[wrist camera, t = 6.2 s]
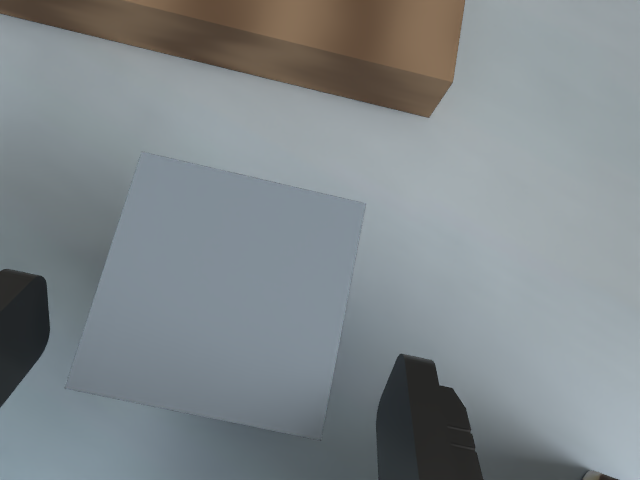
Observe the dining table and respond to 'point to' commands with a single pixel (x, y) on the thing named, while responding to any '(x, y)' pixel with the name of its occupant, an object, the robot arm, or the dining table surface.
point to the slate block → (222, 298)
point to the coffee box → (596, 476)
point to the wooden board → (287, 40)
